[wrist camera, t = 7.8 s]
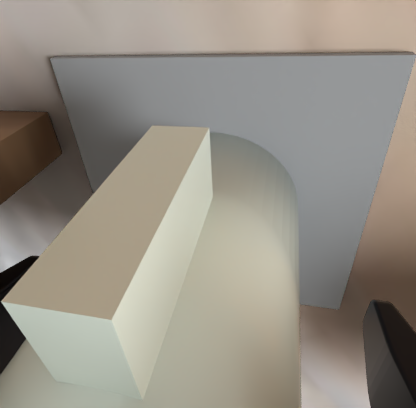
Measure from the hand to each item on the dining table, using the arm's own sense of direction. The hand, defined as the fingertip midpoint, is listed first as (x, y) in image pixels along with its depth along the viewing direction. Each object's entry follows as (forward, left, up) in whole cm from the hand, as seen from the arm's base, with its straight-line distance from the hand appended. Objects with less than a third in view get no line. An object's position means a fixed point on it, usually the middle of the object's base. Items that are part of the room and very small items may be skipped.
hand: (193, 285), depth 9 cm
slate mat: (0, 0, -4) cm, 4 cm away
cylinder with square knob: (0, 0, -4) cm, 4 cm away
